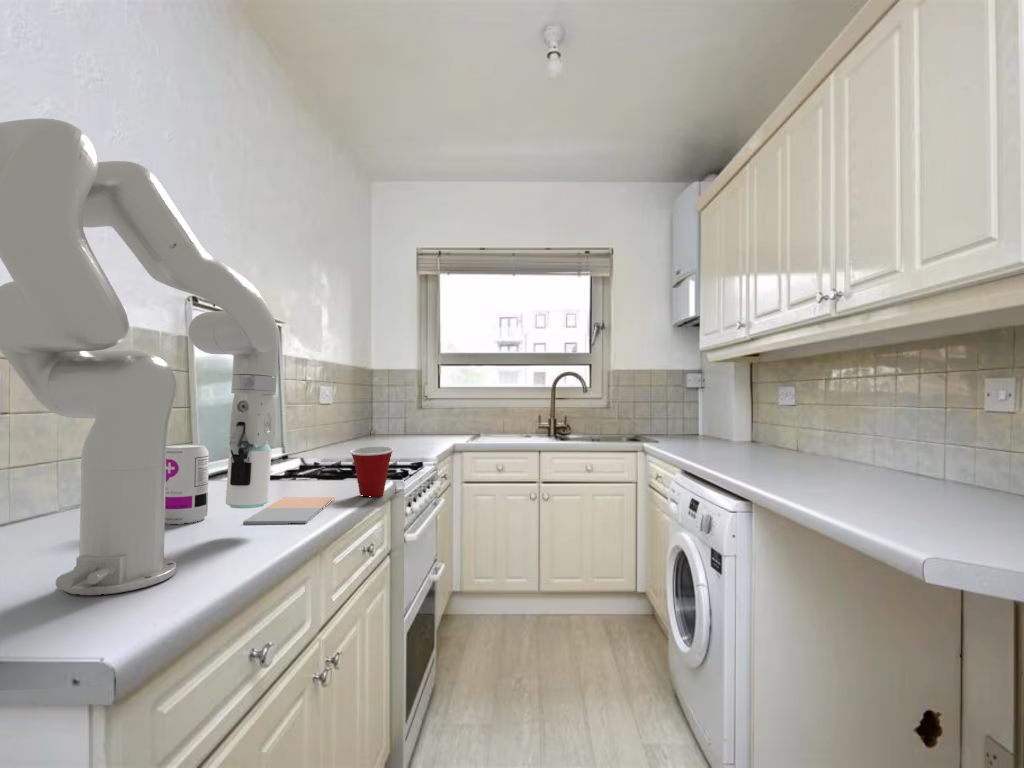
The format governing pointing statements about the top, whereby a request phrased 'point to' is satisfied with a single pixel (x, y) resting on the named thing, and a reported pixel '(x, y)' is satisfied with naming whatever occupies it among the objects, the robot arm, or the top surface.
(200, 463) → the supplement can
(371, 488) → the plastic cup
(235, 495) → the can
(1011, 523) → the top surface
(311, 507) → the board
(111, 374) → the robot arm
